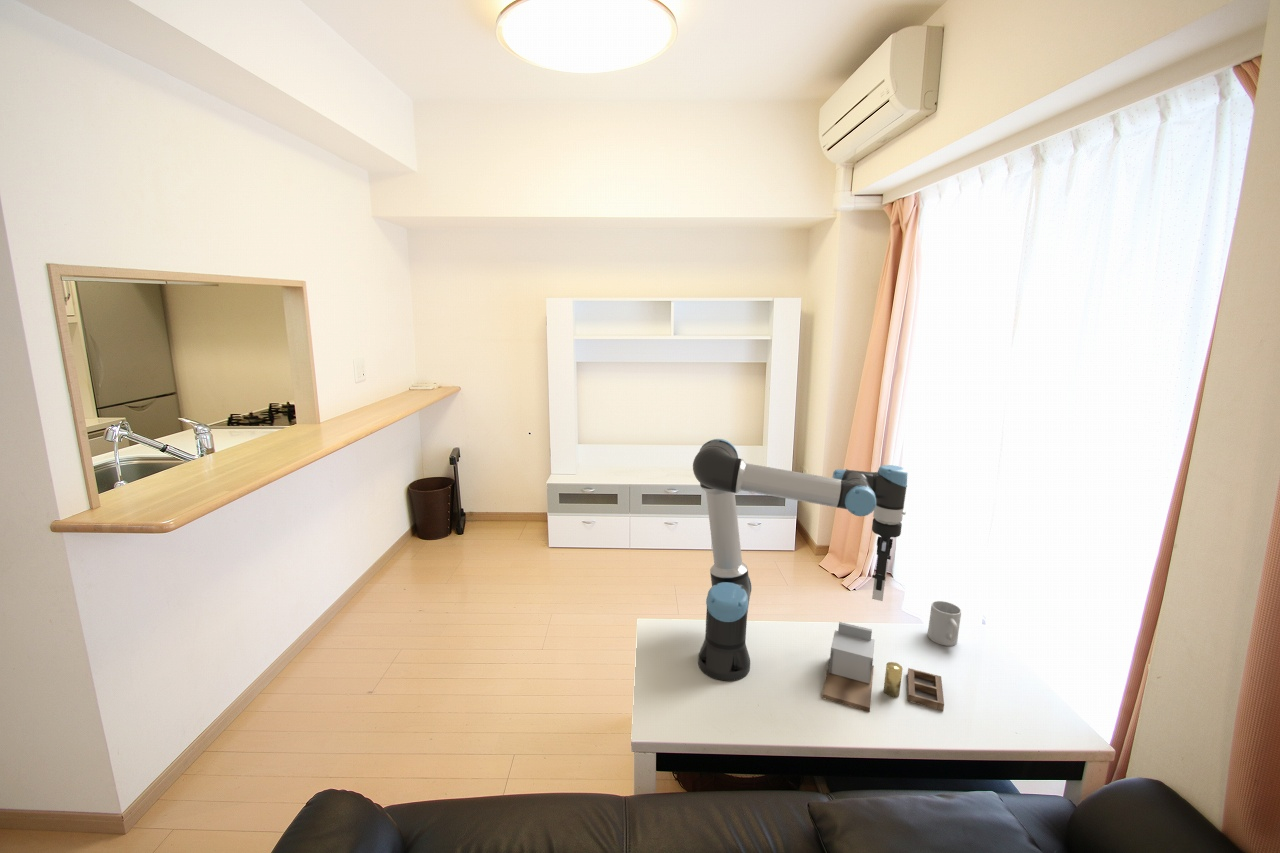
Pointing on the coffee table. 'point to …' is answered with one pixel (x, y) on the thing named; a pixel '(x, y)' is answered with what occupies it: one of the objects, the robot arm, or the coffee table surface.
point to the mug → (944, 623)
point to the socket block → (925, 689)
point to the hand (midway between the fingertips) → (879, 589)
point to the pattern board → (848, 691)
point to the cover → (852, 652)
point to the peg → (893, 679)
